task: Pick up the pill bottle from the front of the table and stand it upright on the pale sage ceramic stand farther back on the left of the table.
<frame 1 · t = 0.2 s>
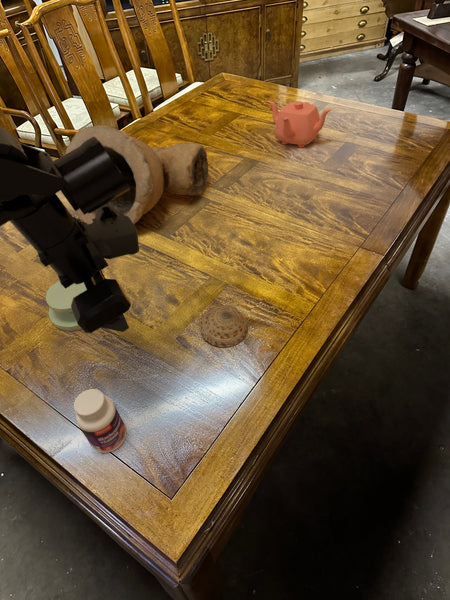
hand: (115, 308, 61), 14 cm above the table, tool pointing down, fingers open, 9 cm apart
pipe: (147, 201, 108), on the table
pill bottle: (109, 436, 62), on the table
teapot: (295, 142, 124), on the table
seashell: (223, 329, 75), on the table
stand: (79, 309, 82), on the table
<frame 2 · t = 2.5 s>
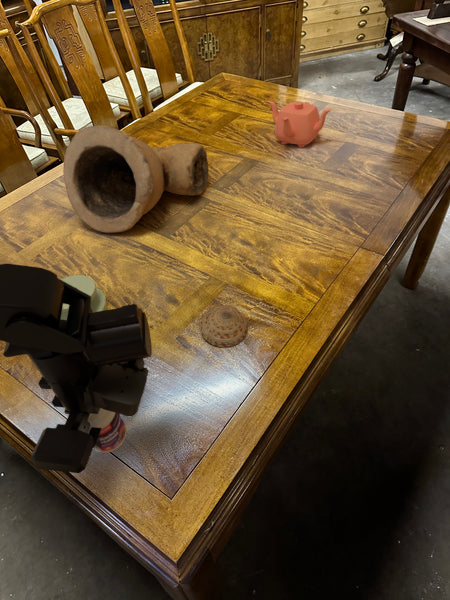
hand: (104, 428, 60), 3 cm above the table, tool pointing down, fingers closed on pill bottle, 5 cm apart
pill bottle: (109, 436, 62), on the table, touching gripper
everything else where it was.
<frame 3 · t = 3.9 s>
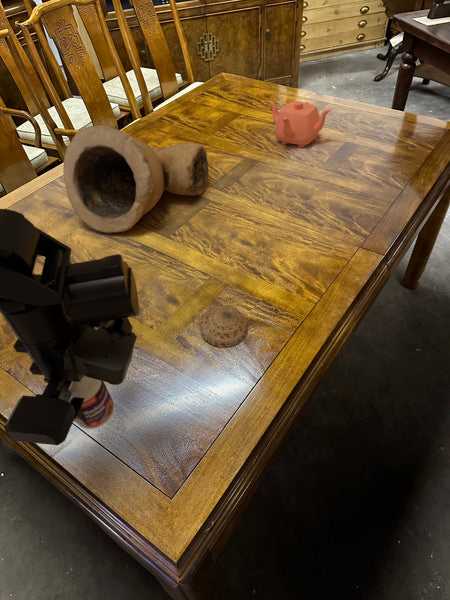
hand: (89, 402, 55), 9 cm above the table, tool pointing down, fingers closed on pill bottle, 5 cm apart
pill bottle: (96, 412, 57), point 7 cm above the table, touching gripper
everything else where it was.
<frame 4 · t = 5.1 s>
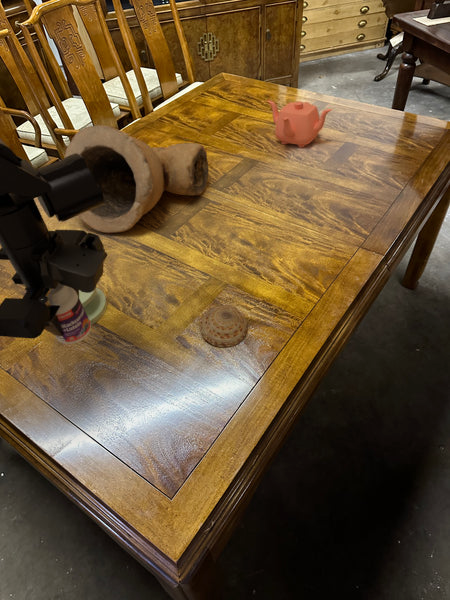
hand: (68, 320, 62), 12 cm above the table, tool pointing down, fingers closed on pill bottle, 5 cm apart
pill bottle: (75, 332, 64), point 10 cm above the table, touching gripper
everything else where it was.
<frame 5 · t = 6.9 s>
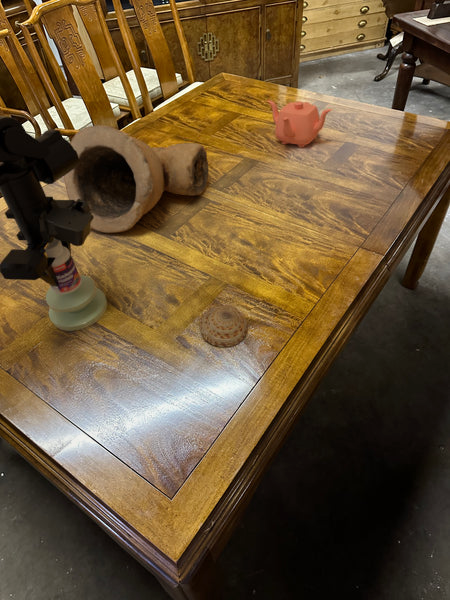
hand: (62, 275, 75), 9 cm above the table, tool pointing down, fingers closed on pill bottle, 5 cm apart
pill bottle: (67, 286, 77), point 6 cm above the table, touching gripper
everything else where it was.
when the fingers open (8 cm above the table, at t = 7.9 s): pill bottle stays where it is, resting on stand.
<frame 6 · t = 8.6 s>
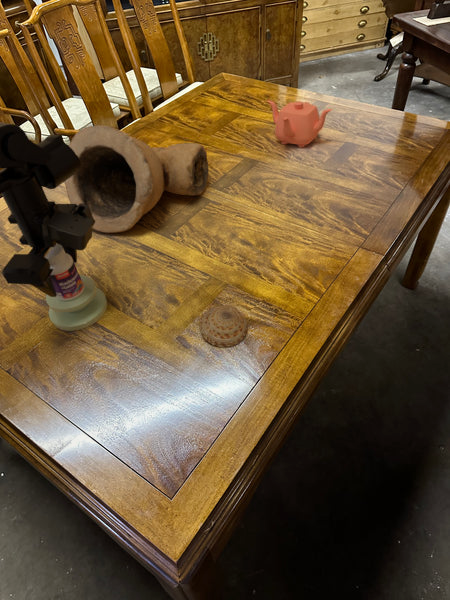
hand: (64, 278, 76), 8 cm above the table, tool pointing down, fingers open, 9 cm apart
pill bottle: (70, 292, 78), point 5 cm above the table, touching stand
everything else where it was.
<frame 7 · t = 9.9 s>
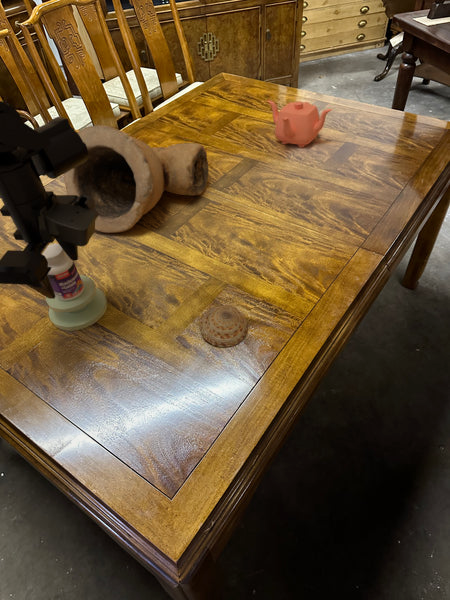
hand: (64, 278, 68), 13 cm above the table, tool pointing down, fingers open, 9 cm apart
nothing on the table moved.
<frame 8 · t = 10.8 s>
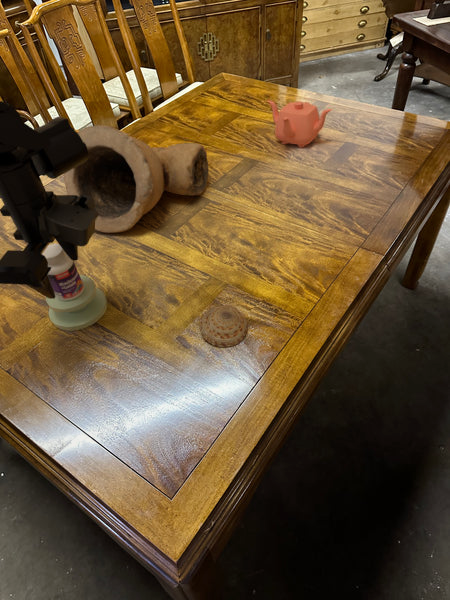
hand: (64, 278, 68), 13 cm above the table, tool pointing down, fingers open, 9 cm apart
nothing on the table moved.
at the end: pill bottle 0.1 cm off-centre on the stand, point 4.8 cm above the stand's base; pill bottle tilted 0°; the gripper is holding nothing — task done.
